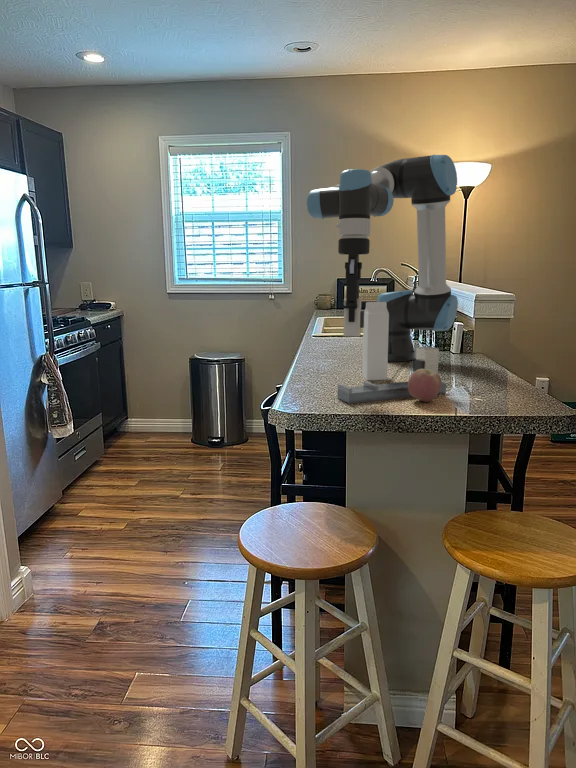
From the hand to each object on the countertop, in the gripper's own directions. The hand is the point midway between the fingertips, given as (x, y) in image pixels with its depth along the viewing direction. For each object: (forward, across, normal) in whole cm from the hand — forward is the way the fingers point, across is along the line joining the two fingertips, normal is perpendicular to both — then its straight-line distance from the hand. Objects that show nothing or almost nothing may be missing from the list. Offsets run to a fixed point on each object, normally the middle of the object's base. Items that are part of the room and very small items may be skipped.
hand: (352, 333), depth 142 cm
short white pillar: (0, 0, 0) cm, 0 cm away
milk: (+15, -22, +5) cm, 27 cm away
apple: (+16, +5, +18) cm, 24 cm away
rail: (+16, 0, +10) cm, 19 cm away
